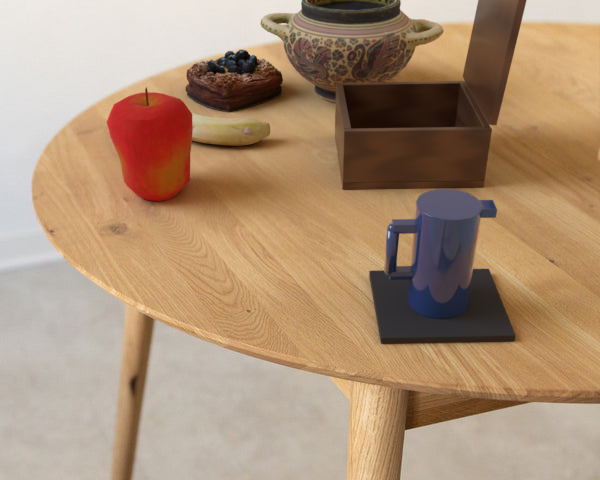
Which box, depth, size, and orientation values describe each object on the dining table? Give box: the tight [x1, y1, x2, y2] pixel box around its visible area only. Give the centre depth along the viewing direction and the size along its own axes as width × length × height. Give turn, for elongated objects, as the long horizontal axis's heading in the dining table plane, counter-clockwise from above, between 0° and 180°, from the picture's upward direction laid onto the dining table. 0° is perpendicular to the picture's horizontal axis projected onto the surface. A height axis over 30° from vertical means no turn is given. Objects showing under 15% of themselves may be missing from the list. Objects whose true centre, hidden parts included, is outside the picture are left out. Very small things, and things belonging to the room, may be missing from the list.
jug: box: [383, 188, 498, 319], centre depth 65 cm, size 8×5×10 cm, turn 91°
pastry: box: [184, 49, 284, 113], centre depth 108 cm, size 11×12×6 cm
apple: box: [106, 86, 193, 202], centre depth 82 cm, size 9×8×12 cm
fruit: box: [190, 111, 271, 147], centre depth 97 cm, size 7×15×3 cm, turn 55°
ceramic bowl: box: [259, 0, 444, 103], centre depth 106 cm, size 24×18×15 cm
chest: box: [334, 80, 493, 190], centre depth 90 cm, size 16×15×7 cm
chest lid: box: [462, 0, 527, 126], centre depth 83 cm, size 16×15×1 cm
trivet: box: [368, 268, 517, 344], centre depth 68 cm, size 11×10×1 cm
